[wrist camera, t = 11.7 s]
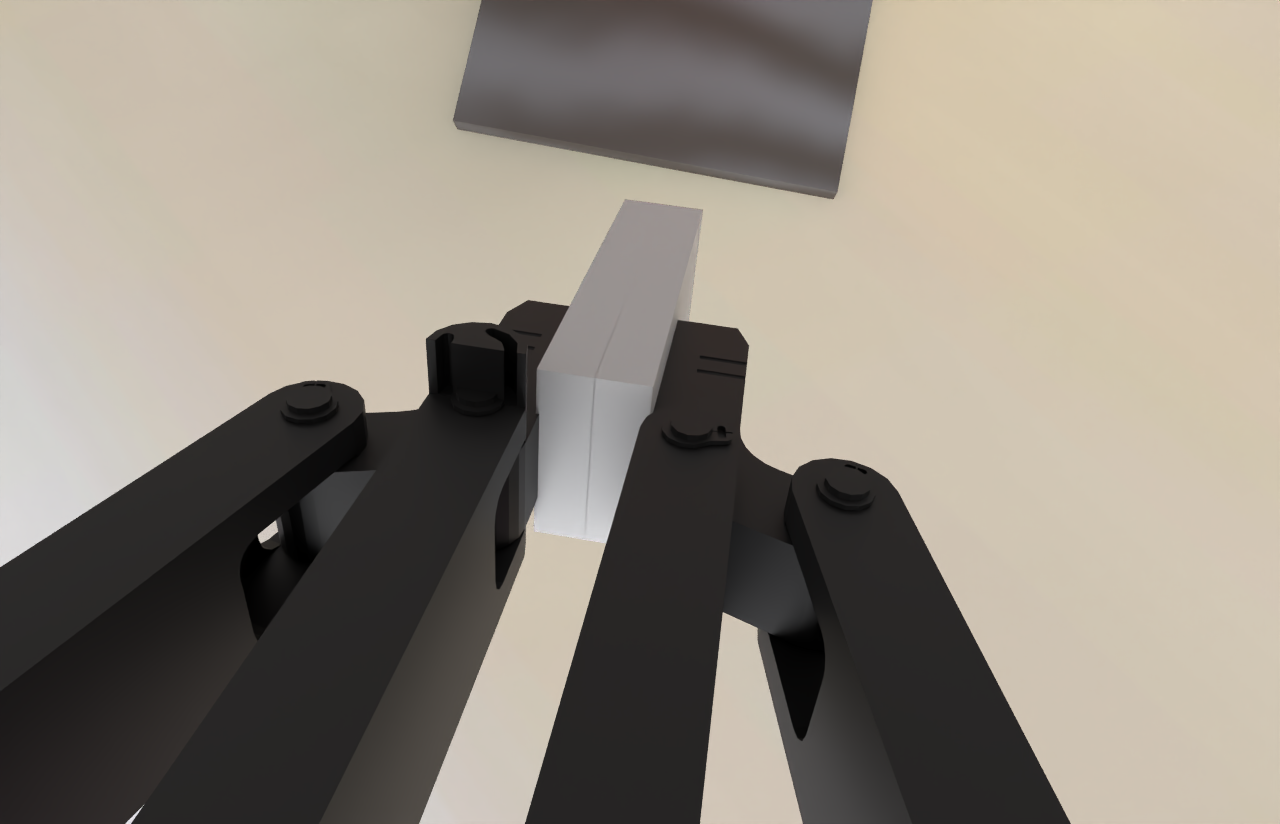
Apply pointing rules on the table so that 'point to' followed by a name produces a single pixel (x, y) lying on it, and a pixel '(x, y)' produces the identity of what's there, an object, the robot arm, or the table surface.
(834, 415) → the table surface
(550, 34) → the housing
